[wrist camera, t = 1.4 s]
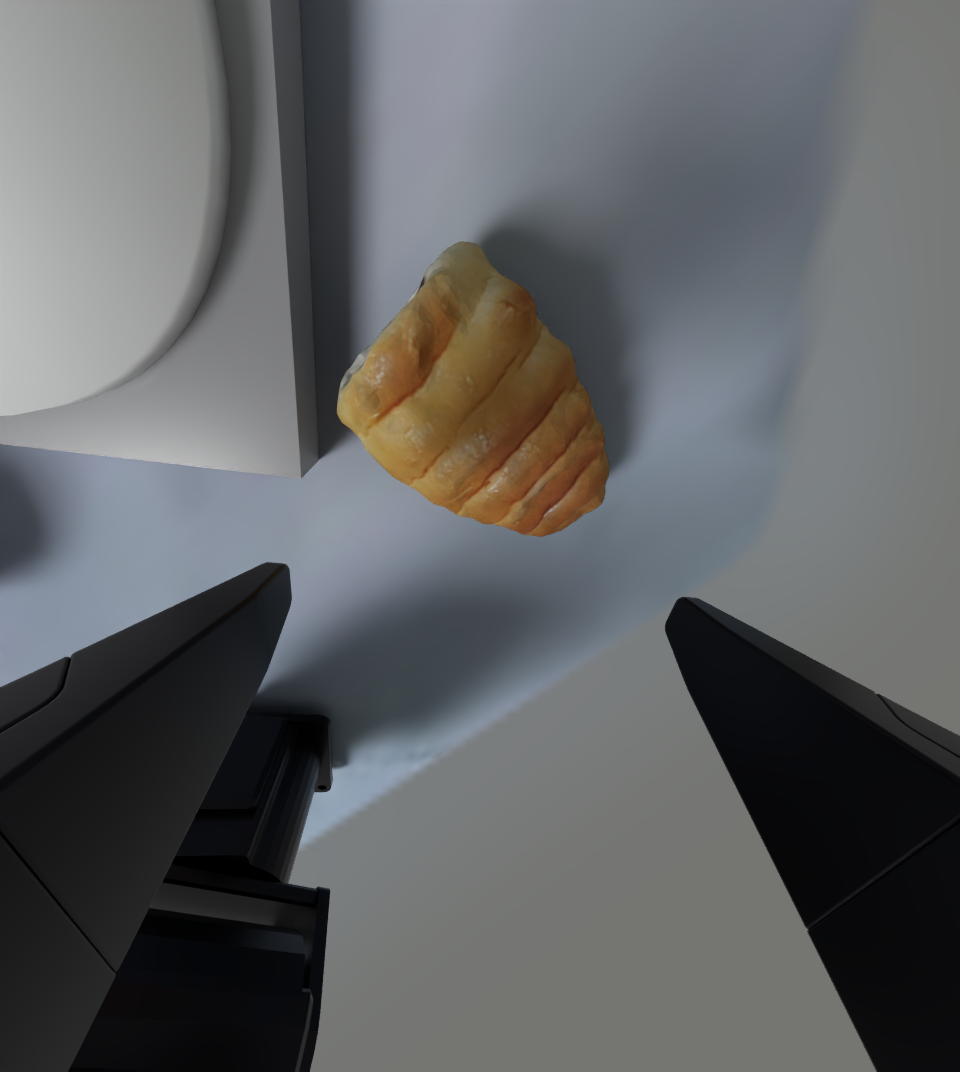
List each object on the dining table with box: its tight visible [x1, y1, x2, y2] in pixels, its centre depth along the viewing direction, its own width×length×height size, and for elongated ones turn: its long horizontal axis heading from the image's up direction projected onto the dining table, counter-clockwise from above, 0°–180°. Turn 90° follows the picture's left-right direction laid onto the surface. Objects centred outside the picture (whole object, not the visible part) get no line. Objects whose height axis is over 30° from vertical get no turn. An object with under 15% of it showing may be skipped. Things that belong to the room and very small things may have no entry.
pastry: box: [337, 242, 609, 536], centre depth 12 cm, size 9×7×4 cm
